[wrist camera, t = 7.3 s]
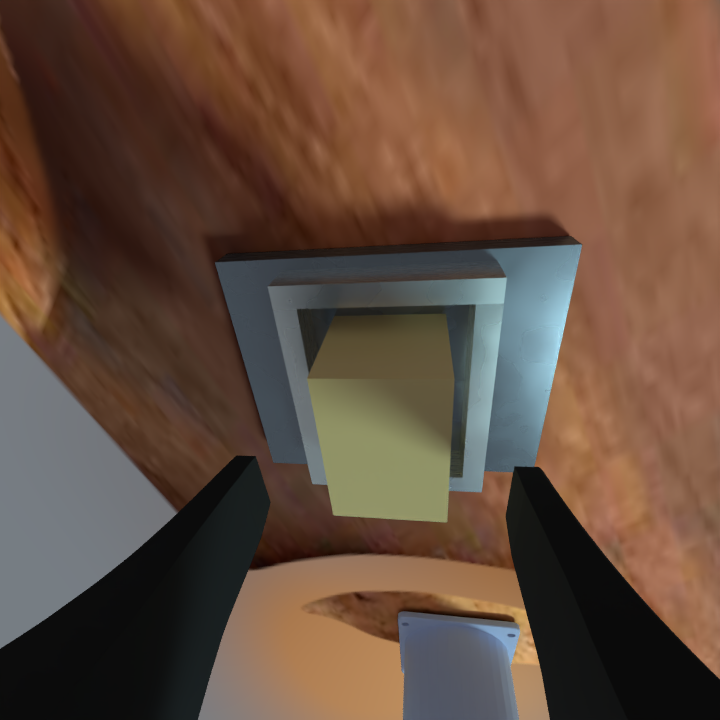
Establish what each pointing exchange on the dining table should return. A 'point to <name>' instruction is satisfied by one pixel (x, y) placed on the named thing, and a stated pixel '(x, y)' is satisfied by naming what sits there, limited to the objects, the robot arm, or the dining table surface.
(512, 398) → the plate
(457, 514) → the dining table surface
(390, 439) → the block
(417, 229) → the dining table surface
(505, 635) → the robot arm
